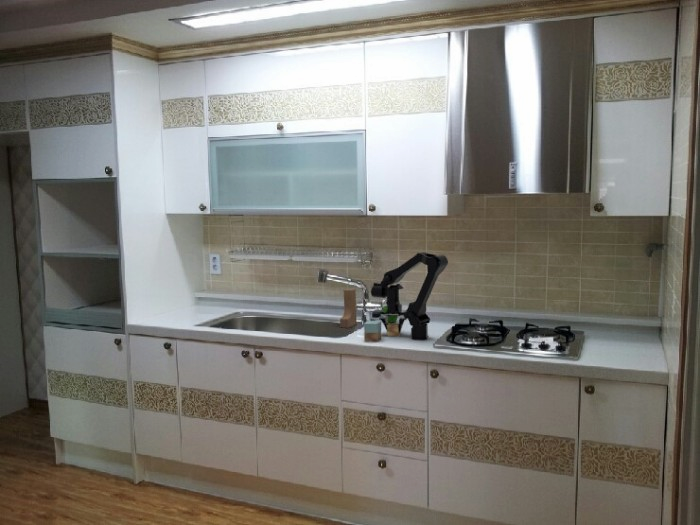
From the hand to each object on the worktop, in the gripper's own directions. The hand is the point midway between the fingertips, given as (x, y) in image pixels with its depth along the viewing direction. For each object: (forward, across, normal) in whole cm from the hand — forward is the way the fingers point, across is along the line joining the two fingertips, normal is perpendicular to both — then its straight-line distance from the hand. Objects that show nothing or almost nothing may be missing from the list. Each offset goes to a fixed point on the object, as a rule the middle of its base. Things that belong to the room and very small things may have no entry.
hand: (394, 332), depth 281 cm
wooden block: (+1, +27, -17) cm, 32 cm away
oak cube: (+1, 0, 0) cm, 1 cm away
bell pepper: (+1, +9, -29) cm, 30 cm away
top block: (-3, +7, +11) cm, 13 cm away
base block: (+1, +7, +11) cm, 13 cm away
